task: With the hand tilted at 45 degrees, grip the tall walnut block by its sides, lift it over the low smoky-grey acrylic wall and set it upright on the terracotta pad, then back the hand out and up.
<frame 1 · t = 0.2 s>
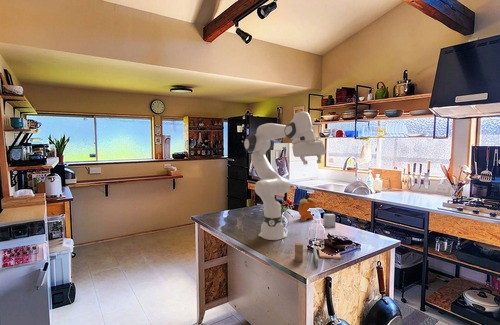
hand: (312, 163, 149), 52 cm above the countertop, tool tilted 20°, fingers open, 8 cm apart
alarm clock: (306, 219, 227), on the countertop
acrylic wall: (315, 259, 150), on the countertop
medicine box: (329, 226, 209), on the countertop
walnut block: (298, 259, 150), on the countertop
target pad: (329, 253, 158), on the countertop
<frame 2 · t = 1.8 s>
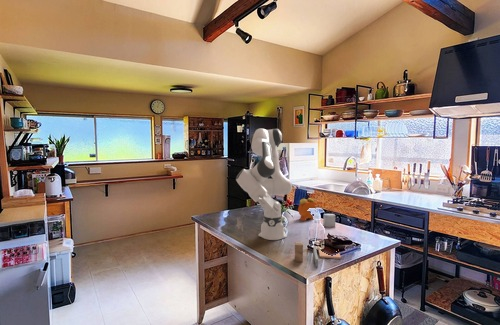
hand: (277, 213, 149), 25 cm above the countertop, tool tilted 45°, fingers open, 8 cm apart
nothing on the countertop moved.
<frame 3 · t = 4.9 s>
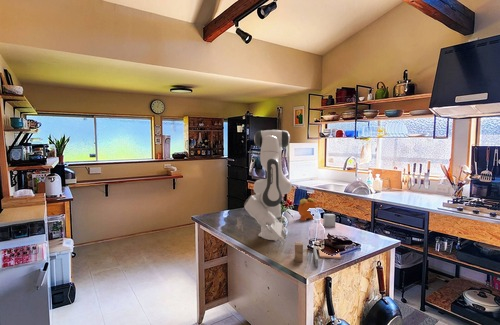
hand: (285, 239, 150), 11 cm above the countertop, tool tilted 45°, fingers open, 8 cm apart
nothing on the countertop moved.
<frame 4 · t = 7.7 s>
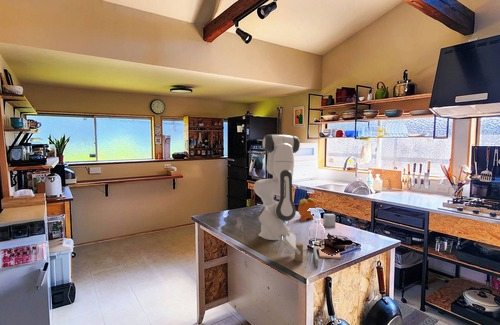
hand: (300, 251, 149), 5 cm above the countertop, tool tilted 45°, fingers closed on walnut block, 4 cm apart
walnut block: (298, 259, 150), on the countertop, touching gripper
everything else where it was.
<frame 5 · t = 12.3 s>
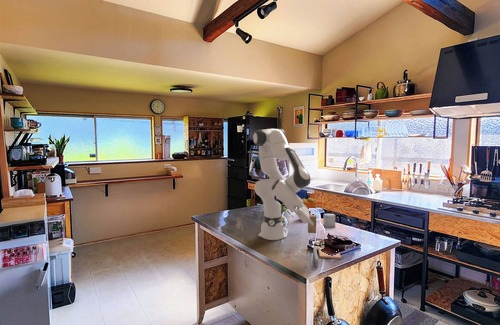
hand: (313, 223, 151), 19 cm above the countertop, tool tilted 45°, fingers closed on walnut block, 4 cm apart
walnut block: (311, 231, 152), point 14 cm above the countertop, touching gripper
everything else where it was.
when the fingers open (7 cm above the countertop, at t = 17.1 s): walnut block drops 1 cm, resting on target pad.
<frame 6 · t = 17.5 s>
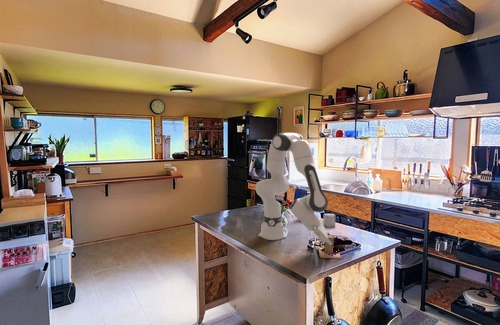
hand: (330, 241, 157), 7 cm above the countertop, tool tilted 45°, fingers open, 8 cm apart
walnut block: (328, 251, 157), point 1 cm above the countertop, touching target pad
everything else where it was.
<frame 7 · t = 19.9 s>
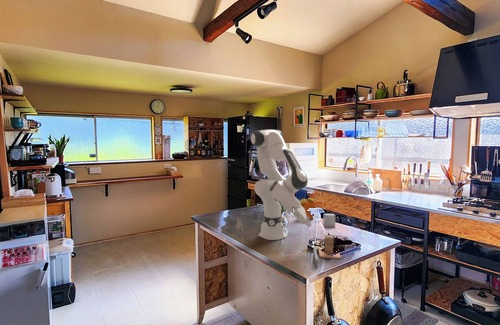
hand: (309, 223, 157), 18 cm above the countertop, tool tilted 45°, fingers open, 8 cm apart
nothing on the countertop moved.
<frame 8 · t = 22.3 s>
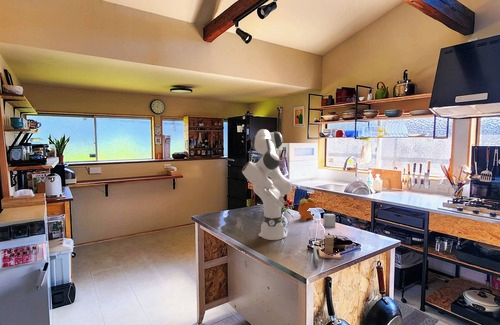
hand: (283, 204, 150), 29 cm above the countertop, tool tilted 45°, fingers open, 8 cm apart
nothing on the countertop moved.
at the end: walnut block inside the target area on the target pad (0.0 cm from its centre), point 1.0 cm above the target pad's base; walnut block tilted 0°; the gripper is holding nothing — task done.
